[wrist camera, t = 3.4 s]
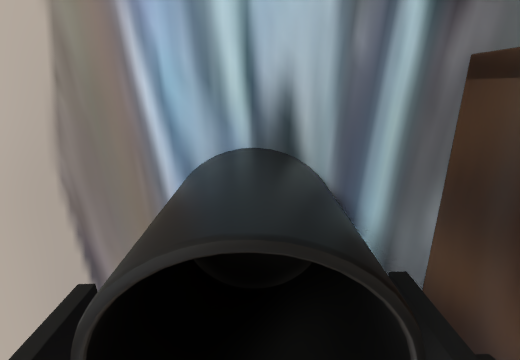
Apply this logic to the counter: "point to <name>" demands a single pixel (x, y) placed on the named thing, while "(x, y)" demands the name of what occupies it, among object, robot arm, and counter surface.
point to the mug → (249, 276)
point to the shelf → (482, 213)
